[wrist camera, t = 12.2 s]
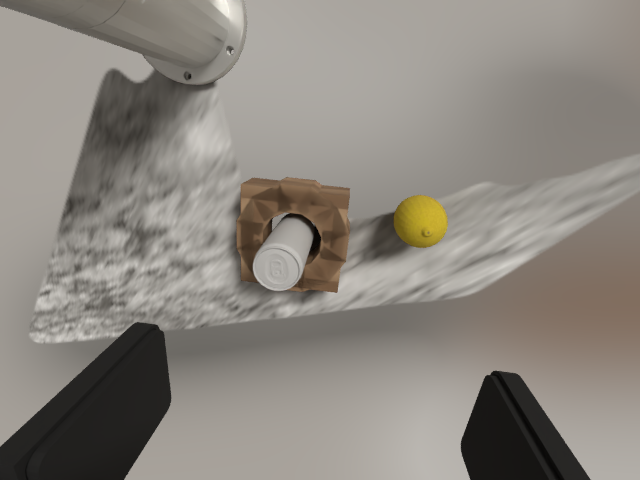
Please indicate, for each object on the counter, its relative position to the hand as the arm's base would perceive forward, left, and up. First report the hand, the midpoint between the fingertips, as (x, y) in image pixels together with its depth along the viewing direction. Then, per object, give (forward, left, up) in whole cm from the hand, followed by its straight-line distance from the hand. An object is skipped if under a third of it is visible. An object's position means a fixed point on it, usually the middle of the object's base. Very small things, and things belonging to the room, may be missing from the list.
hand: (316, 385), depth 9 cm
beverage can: (+6, -5, -31) cm, 32 cm away
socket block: (+6, -5, -30) cm, 31 cm away
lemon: (+2, +9, -31) cm, 32 cm away
